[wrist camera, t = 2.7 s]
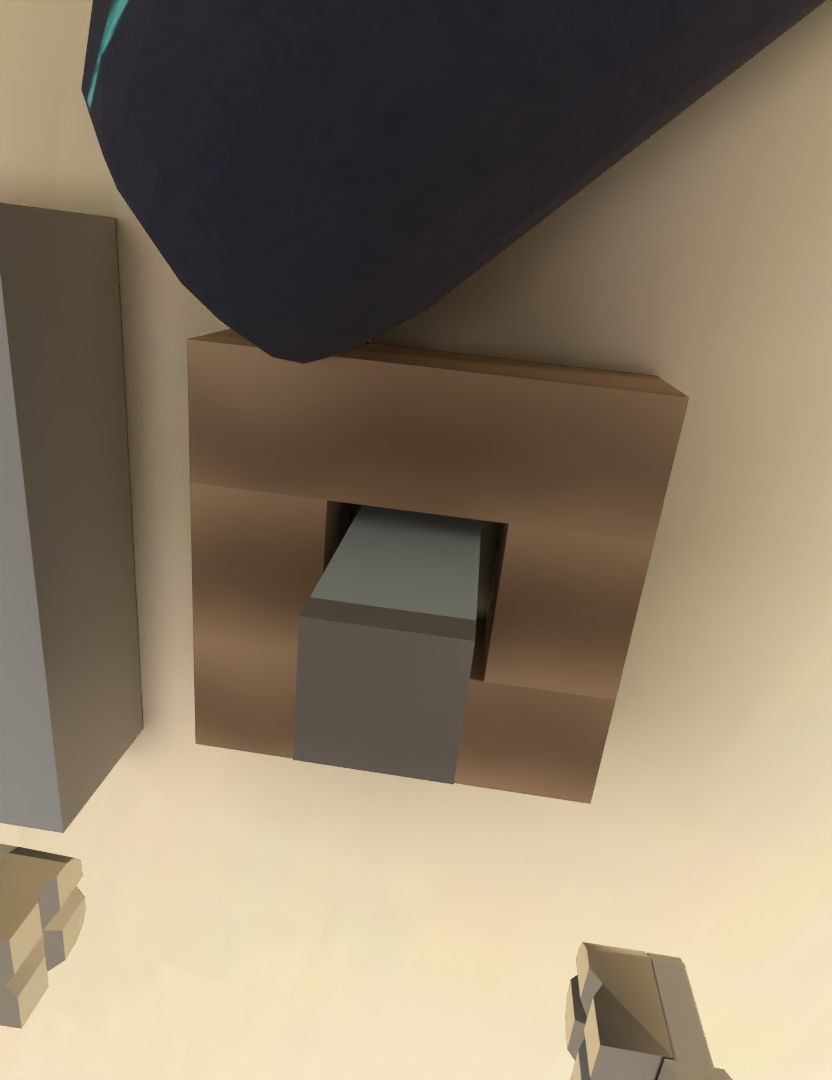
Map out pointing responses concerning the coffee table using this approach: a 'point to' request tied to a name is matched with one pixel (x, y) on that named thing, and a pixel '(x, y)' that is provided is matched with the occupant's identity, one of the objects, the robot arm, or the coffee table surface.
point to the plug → (390, 646)
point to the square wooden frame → (436, 488)
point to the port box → (63, 518)
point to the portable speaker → (381, 137)
